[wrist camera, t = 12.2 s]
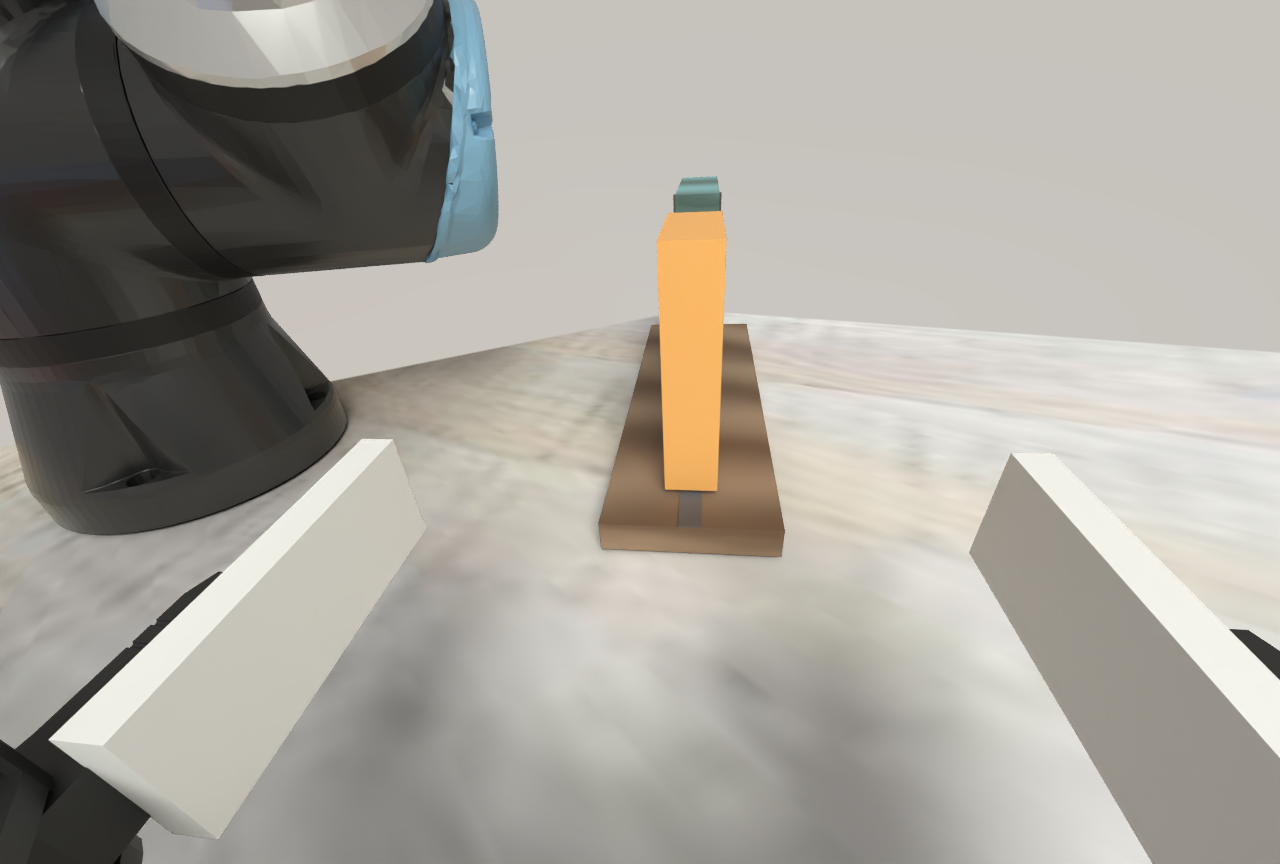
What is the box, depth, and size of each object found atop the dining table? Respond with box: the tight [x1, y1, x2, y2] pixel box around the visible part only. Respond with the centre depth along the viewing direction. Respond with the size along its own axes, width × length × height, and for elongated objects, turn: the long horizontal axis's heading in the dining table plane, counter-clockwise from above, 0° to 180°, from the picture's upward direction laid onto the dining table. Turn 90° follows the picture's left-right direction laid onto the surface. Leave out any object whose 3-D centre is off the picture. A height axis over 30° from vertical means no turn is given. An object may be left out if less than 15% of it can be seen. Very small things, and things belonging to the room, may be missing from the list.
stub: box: [657, 211, 726, 491], centre depth 23 cm, size 6×2×11 cm, turn 173°
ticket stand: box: [599, 177, 785, 557], centre depth 30 cm, size 25×8×13 cm, turn 174°
